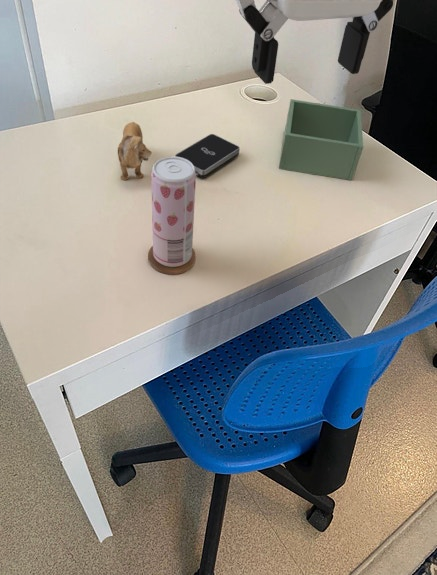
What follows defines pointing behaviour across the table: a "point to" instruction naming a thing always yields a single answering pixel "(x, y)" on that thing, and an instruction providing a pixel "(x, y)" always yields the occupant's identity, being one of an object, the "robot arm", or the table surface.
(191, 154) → the external hard drive
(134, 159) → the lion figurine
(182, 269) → the coaster
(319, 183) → the table surface
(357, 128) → the crate
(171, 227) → the beverage can
